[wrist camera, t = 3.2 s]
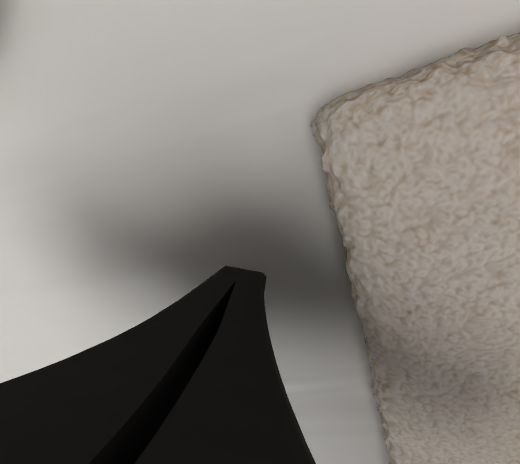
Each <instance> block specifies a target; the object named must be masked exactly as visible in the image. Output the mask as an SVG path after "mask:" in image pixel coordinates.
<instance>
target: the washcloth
mask: <svg viewBox="0 0 520 464" xmlns="http://www.w3.org/2000/svg"><path fill="white" fill-rule="evenodd" d="M310 126H311V127H312V130H313V135H314V137H315V138H316V142H317V143H318V144H319V145H321V147H322V151H323V155H322V157H321V160H322V171H325V172H327V174H328V184H327V190H328V192H329V195H330V197H331V199H332V201H331V204H330V208H331V209H332V210H334V213H335V216H336V217H337V221H338V229H339V231H340V232H341V234H342V237H343V245H344V246H345V247H346V249H347V253H348V254H347V259H346V269H347V274H348V277H349V278H350V280H351V281H352V285H351V289H352V298H353V299H354V301H355V309H356V311H357V313H358V314H359V316H360V318H361V320H362V326H363V329H364V334H365V343H366V348H367V352H368V357H369V359H370V360H371V364H372V365H371V369H372V371H373V380H372V385H371V387H372V389H373V397H374V398H376V401H377V403H378V404H379V406H378V407H377V409H378V410H380V415H381V419H382V422H381V423H382V426H383V430H382V431H383V434H384V436H385V442H386V446H387V448H388V452H389V453H390V455H391V461H390V464H520V33H517V34H513V35H511V36H508V37H505V36H501V37H500V38H499V39H498V40H493V41H490V42H489V43H487V44H485V45H483V46H481V47H479V48H477V49H470V48H464V49H461V50H459V51H458V52H457V53H455V54H454V55H452V56H449V57H446V58H444V59H441V60H439V61H437V62H435V63H432V64H430V65H428V66H425V67H423V68H422V69H413V70H410V71H409V72H408V73H407V74H405V75H404V76H403V77H402V78H397V79H395V78H387V79H385V80H384V81H382V82H380V83H378V84H369V85H368V86H366V87H364V88H362V89H360V90H358V91H350V92H348V93H345V94H344V95H342V96H340V97H338V98H336V99H335V100H333V101H331V102H330V103H329V104H326V105H325V106H324V107H322V108H321V109H320V110H319V112H318V113H317V115H316V120H314V121H312V122H311V124H310Z"/></svg>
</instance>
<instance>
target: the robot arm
mask: <svg viewBox="0 0 520 464" xmlns="http://www.w3.org/2000/svg"><path fill="white" fill-rule="evenodd" d="M265 282H266V276H265V275H264V273H261V272H256V271H251V270H245V269H240V268H235V267H229V266H225V267H223V268H222V269H221V270H219V271H218V272H217V273H215V274H214V275H213V276H211V277H210V278H209V279H207V280H206V281H205V282H203V283H202V284H201V285H199V286H198V287H197V288H195V289H194V290H192V291H191V292H189V293H188V294H187V295H185V296H184V297H182V298H181V299H179V300H178V301H177V302H175V303H173V304H172V305H170V306H169V307H167V308H166V309H164V310H162V311H161V312H159V313H158V314H156V315H154V316H153V317H151V318H149V319H148V320H146V321H144V322H142V323H141V324H139V325H137V326H135V327H133V328H131V329H129V330H127V331H125V332H123V333H122V334H120V335H118V336H116V337H114V338H111V339H109V340H107V341H105V342H103V343H100V344H98V345H96V346H94V347H91V348H89V349H87V350H85V351H82V352H80V353H78V354H76V355H73V356H71V357H69V358H67V359H64V360H62V361H59V362H57V363H54V364H51V365H49V366H46V367H44V368H41V369H39V370H36V371H33V372H31V373H28V374H25V375H22V376H20V377H17V378H14V379H11V380H9V381H6V382H3V383H0V464H316V463H315V461H314V459H313V457H312V454H311V452H310V450H309V448H308V446H307V443H306V441H305V439H304V436H303V434H302V431H301V429H300V426H299V424H298V422H297V419H296V417H295V414H294V412H293V409H292V407H291V404H290V402H289V399H288V397H287V394H286V391H285V388H284V385H283V382H282V379H281V376H280V373H279V370H278V366H277V363H276V360H275V356H274V352H273V349H272V345H271V340H270V336H269V331H268V326H267V320H266V313H265V305H264V290H265Z"/></svg>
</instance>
